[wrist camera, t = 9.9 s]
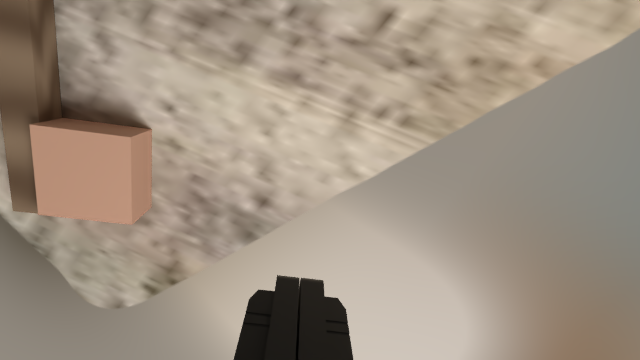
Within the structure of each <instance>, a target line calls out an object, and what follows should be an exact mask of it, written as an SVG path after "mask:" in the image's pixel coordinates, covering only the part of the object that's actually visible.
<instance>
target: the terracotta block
mask: <svg viewBox="0 0 640 360" xmlns="http://www.w3.org/2000/svg"><path fill="white" fill-rule="evenodd" d="M29 126H30V136H31V147H32V157H33V167H34V177H35V188H36V198H37V208H38V215H46V216H56V217H65V218H74V219H84V220H93V221H102V222H112V223H121V224H130V225H132V224H133V223H134V222H136V221H137V220H138V219H139V218H140V217H141V216H142V215H143V214H144V213H146V212H147V211H148V210H149V209H150V208H151V184H152V129H146V128H138V127H130V126H123V125H115V124H107V123H100V122H92V121H84V120H76V119H69V118H60V119H55V120H50V121H44V122H39V123H34V124H29Z"/></svg>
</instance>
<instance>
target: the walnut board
mask: <svg viewBox="0 0 640 360" xmlns="http://www.w3.org/2000/svg"><path fill="white" fill-rule="evenodd" d="M0 110H1V118H2V126H3V134H4V142H5V150H6V158H7V166H8V174H9V183H10V191H11V199H12V207H13V211H19V212H29V213H38V208H37V198H36V188H35V177H34V167H33V157H32V147H31V136H30V126H29V124H34V123H39V122H44V121H50V120H55V119H60V118H62V109H61V96H60V83H59V69H58V56H57V43H56V30H55V16H54V3H53V0H0Z"/></svg>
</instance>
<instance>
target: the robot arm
mask: <svg viewBox="0 0 640 360" xmlns="http://www.w3.org/2000/svg"><path fill="white" fill-rule="evenodd" d="M347 323H348V321H347V314H346V309H345V308H344V306H343V305H342V303H341V302H340V301H339V299H338V298H331V297H324V284H323V280H315V279H306V278H301V280H300V286H299V278H296V277H287V276H278V275H277V281H276V287H275V291H266V290H258V291H257V292H256V293H255V294H254V295H253V296H252V297H251V298H250V299H249V302H248V306H247V310H246V314H245V318H244V322H243V326H242V329H241V333H240V337H239V342H238V345H237V349H236V353H235V357H234V360H353V355H352V349H351V342H350V336H349V328H348V324H347Z"/></svg>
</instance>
